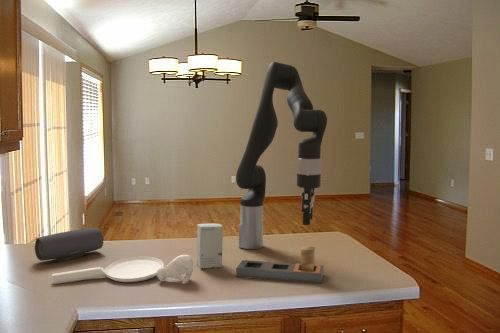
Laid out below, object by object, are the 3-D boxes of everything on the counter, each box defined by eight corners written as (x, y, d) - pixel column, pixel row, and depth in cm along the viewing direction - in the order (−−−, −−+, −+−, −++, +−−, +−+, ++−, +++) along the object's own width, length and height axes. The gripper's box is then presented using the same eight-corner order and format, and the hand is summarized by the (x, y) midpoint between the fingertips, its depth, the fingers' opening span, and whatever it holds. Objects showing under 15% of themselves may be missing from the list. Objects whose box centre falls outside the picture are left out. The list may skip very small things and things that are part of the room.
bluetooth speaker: (93, 249, 188) (92, 224, 187) (104, 253, 182) (103, 228, 181) (34, 261, 172) (33, 234, 171) (44, 266, 166) (43, 238, 165)
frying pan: (52, 300, 140) (51, 286, 140) (54, 276, 158) (53, 263, 157) (169, 281, 152) (168, 267, 152) (159, 260, 170) (158, 248, 169)
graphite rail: (236, 276, 155) (236, 267, 155) (242, 268, 164) (242, 259, 164) (321, 283, 149) (321, 273, 149) (323, 274, 158) (323, 264, 158)
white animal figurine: (191, 257, 147) (153, 261, 147) (194, 283, 148) (156, 287, 148) (193, 251, 153) (156, 255, 153) (195, 277, 154) (159, 280, 154)
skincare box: (199, 269, 163) (199, 227, 162) (196, 264, 169) (196, 223, 167) (223, 267, 166) (223, 225, 164) (219, 262, 171) (219, 222, 170)
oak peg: (300, 279, 153) (301, 249, 152) (301, 275, 157) (302, 246, 156) (312, 280, 152) (313, 250, 151) (314, 276, 156) (314, 246, 155)
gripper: (299, 169, 159) (298, 216, 161) (294, 174, 145) (293, 226, 147) (322, 170, 157) (321, 218, 159) (318, 175, 143) (317, 227, 145)
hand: (307, 221), depth 153 cm, fingers open, 8 cm apart
